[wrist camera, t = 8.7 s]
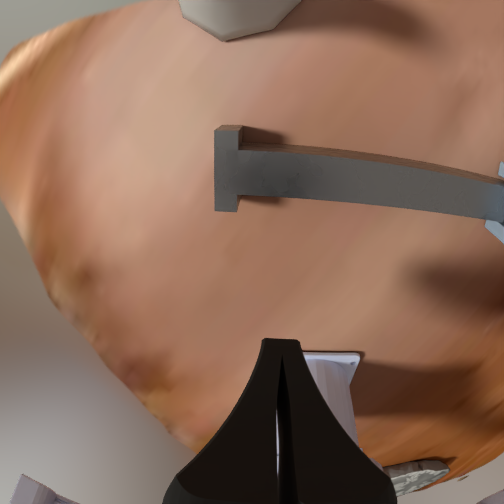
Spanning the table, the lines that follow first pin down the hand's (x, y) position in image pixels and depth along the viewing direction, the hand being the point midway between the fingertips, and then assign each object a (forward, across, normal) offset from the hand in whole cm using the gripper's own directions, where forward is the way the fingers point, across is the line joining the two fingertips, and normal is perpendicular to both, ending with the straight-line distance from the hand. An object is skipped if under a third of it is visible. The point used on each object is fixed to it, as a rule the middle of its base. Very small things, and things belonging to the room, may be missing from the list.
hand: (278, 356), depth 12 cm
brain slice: (+10, -27, +47) cm, 55 cm away
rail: (+10, -9, -5) cm, 14 cm away
